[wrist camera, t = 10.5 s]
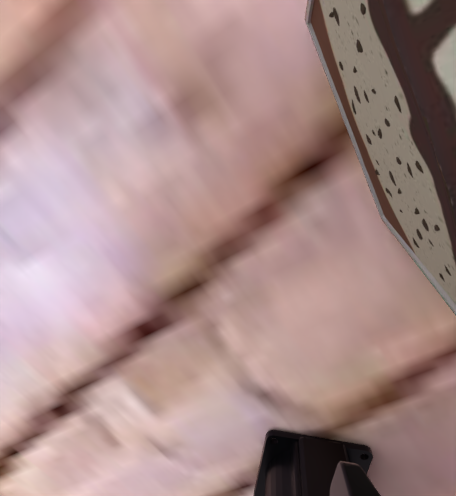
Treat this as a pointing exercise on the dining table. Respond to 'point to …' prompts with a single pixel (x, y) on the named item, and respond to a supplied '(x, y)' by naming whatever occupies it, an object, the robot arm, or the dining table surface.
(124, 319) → the dining table surface
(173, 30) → the dining table surface
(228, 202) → the dining table surface
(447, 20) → the food container
